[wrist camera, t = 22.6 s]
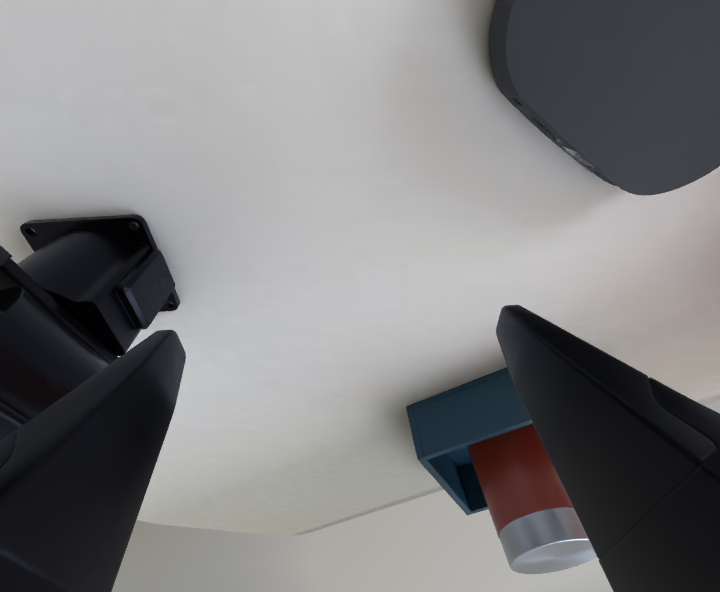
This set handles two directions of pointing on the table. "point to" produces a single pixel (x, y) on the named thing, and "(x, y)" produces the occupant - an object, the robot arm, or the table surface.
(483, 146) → the table surface
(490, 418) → the tote
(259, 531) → the table surface
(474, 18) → the table surface
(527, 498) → the tin can
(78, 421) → the robot arm
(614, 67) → the media streaming box
